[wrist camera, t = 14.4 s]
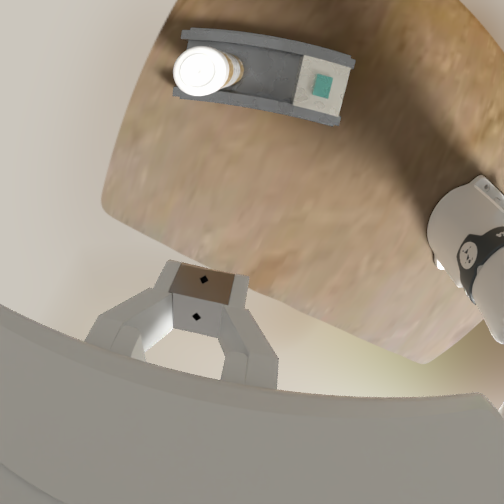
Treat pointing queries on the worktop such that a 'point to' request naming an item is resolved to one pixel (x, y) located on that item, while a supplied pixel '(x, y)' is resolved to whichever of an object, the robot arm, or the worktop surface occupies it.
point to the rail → (278, 74)
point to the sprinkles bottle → (206, 70)
